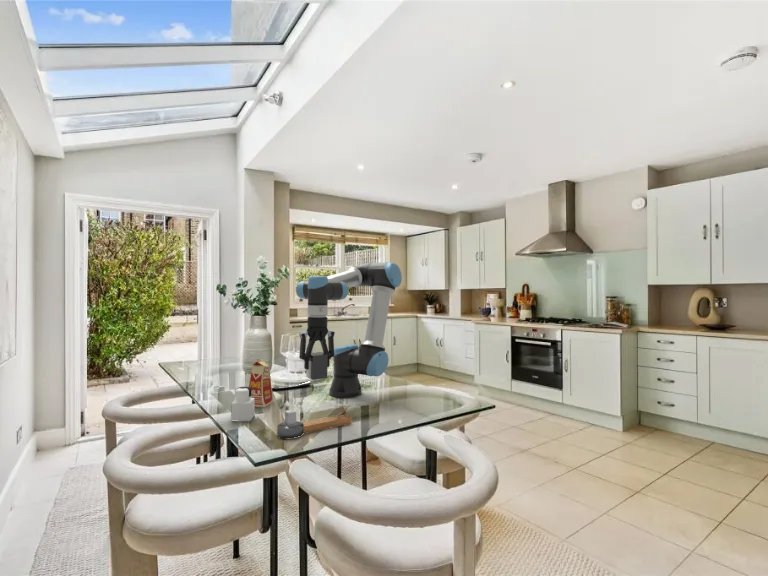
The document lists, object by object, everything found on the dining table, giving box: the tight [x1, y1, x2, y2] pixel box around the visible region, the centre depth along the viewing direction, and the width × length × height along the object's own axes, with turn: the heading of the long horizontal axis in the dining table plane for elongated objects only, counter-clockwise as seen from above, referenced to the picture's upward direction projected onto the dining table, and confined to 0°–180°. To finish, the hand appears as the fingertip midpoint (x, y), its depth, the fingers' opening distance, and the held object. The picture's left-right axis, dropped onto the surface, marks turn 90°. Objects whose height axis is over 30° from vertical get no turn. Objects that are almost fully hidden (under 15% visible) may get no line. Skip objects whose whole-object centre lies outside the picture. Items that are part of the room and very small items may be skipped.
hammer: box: [276, 409, 352, 439], centre depth 147 cm, size 28×9×8 cm, turn 123°
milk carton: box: [248, 358, 274, 408], centre depth 176 cm, size 9×9×20 cm
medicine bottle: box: [230, 386, 255, 422], centre depth 157 cm, size 7×7×12 cm
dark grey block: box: [309, 351, 329, 381], centre depth 155 cm, size 6×6×9 cm
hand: (316, 376), depth 155 cm, fingers closed on dark grey block, 6 cm apart
